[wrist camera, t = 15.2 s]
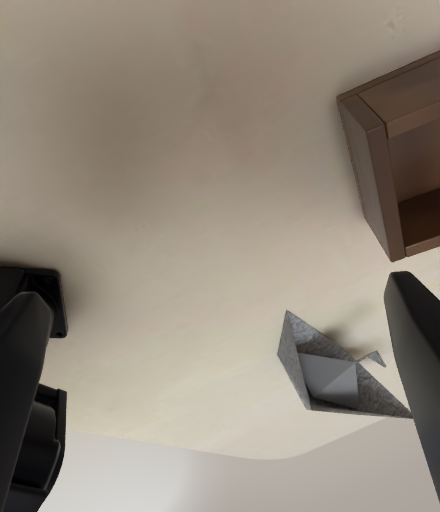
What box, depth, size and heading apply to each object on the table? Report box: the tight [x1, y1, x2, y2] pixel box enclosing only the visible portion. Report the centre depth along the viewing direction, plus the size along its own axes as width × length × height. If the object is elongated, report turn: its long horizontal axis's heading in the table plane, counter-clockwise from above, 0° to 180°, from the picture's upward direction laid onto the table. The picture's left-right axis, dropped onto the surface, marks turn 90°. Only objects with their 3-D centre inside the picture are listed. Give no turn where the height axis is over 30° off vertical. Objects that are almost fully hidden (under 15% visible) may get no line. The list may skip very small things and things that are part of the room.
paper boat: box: [277, 311, 413, 419], centre depth 30 cm, size 12×6×9 cm
